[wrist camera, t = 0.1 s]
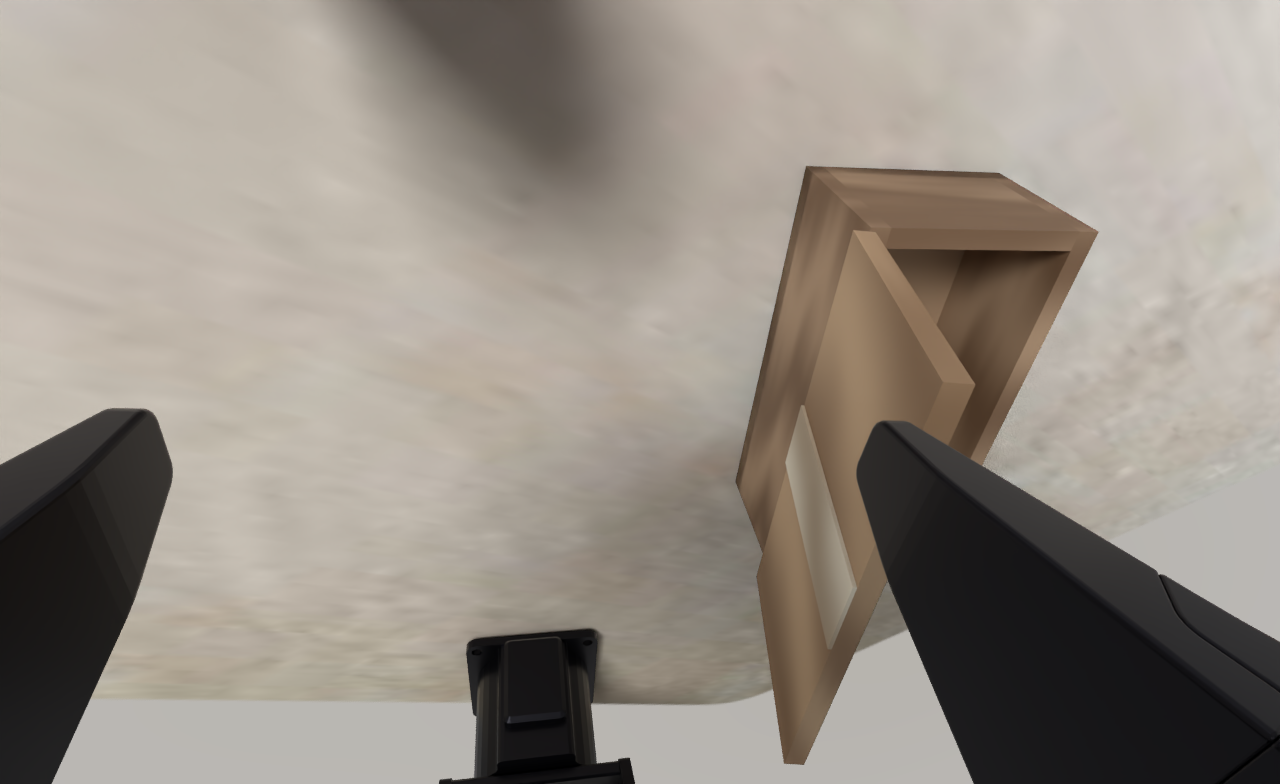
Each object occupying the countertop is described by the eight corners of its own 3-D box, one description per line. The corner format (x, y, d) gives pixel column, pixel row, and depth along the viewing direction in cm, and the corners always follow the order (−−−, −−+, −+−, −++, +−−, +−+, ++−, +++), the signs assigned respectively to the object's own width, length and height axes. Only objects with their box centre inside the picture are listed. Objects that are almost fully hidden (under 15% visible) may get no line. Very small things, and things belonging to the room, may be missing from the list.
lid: (803, 764, 21) (780, 763, 21) (772, 577, 26) (753, 576, 26) (975, 384, 12) (937, 381, 12) (875, 232, 18) (849, 229, 18)
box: (881, 474, 32) (934, 559, 28) (735, 481, 30) (769, 571, 26) (999, 173, 24) (1098, 231, 20) (806, 166, 22) (870, 227, 18)
